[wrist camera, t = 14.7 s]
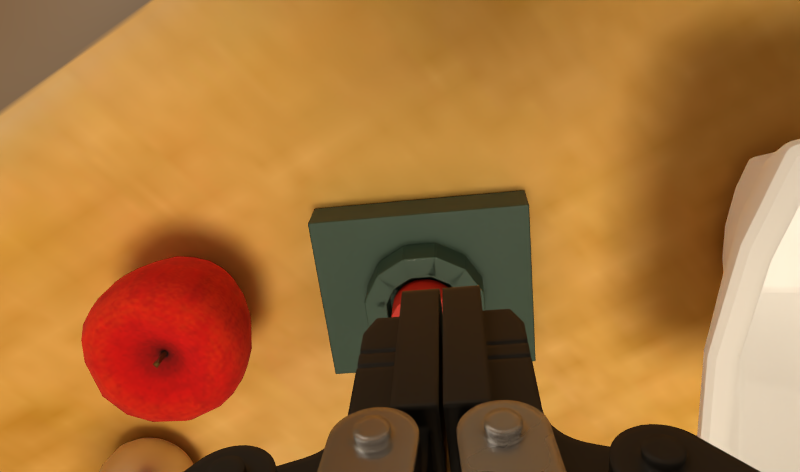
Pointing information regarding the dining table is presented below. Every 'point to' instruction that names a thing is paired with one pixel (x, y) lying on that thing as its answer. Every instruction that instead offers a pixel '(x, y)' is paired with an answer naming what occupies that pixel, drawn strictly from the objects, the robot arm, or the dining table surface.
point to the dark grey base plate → (419, 259)
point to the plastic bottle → (147, 457)
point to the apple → (169, 339)
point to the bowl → (758, 321)
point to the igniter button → (415, 285)
